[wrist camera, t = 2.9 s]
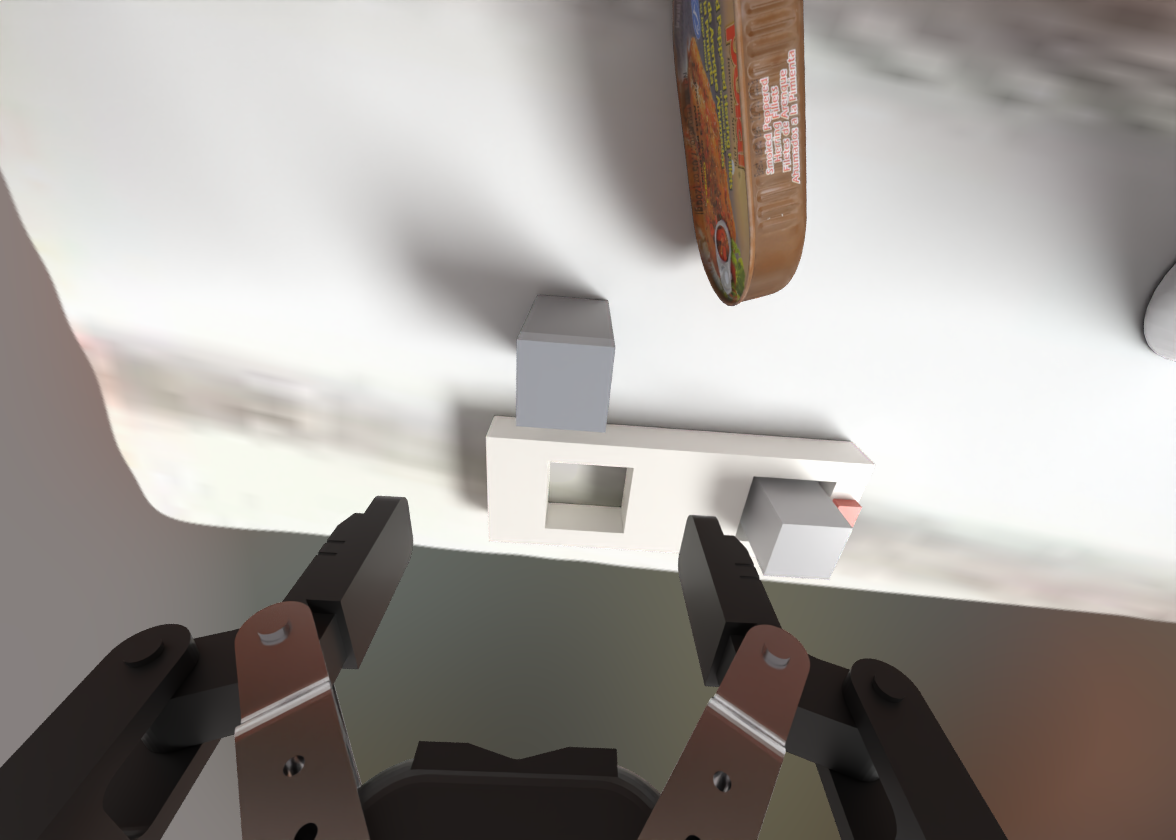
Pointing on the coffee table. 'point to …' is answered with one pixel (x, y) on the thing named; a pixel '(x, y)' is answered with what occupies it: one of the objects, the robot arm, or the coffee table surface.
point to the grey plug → (794, 528)
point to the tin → (744, 139)
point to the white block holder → (652, 481)
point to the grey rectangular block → (565, 364)
